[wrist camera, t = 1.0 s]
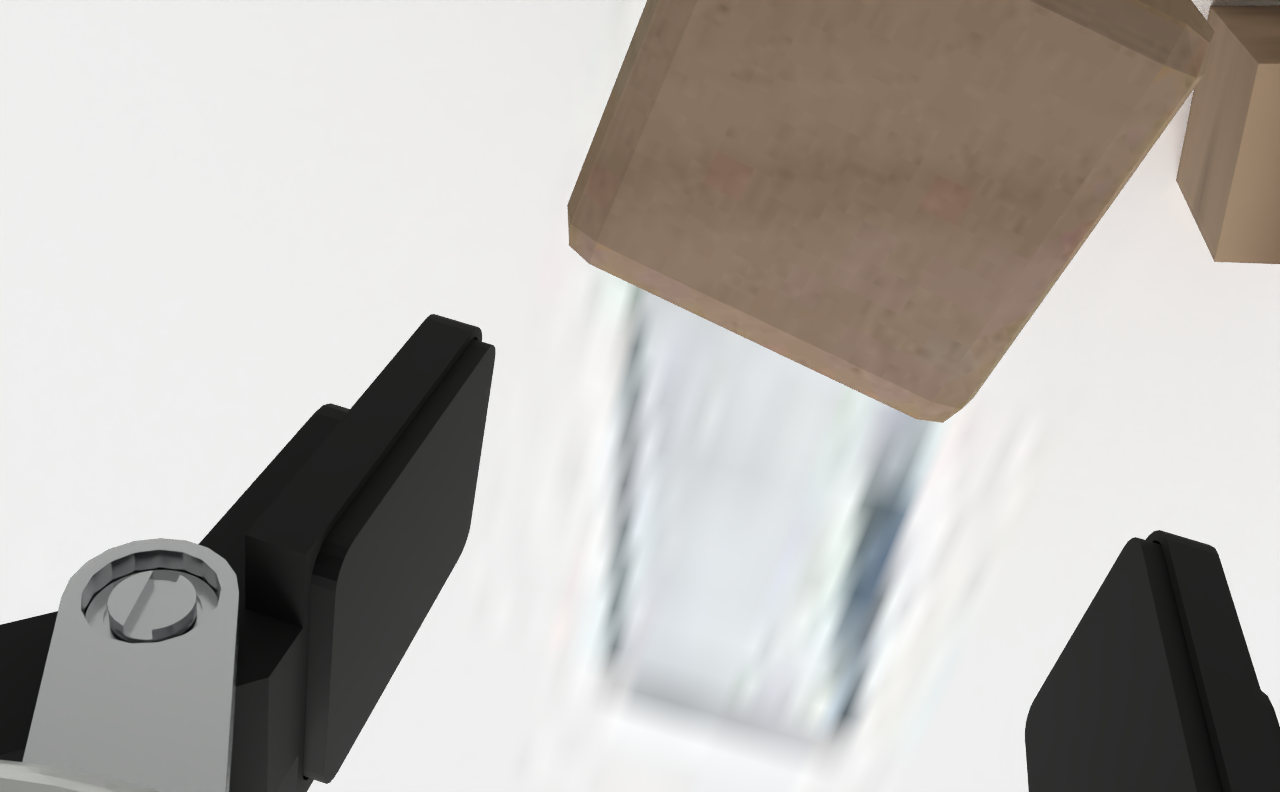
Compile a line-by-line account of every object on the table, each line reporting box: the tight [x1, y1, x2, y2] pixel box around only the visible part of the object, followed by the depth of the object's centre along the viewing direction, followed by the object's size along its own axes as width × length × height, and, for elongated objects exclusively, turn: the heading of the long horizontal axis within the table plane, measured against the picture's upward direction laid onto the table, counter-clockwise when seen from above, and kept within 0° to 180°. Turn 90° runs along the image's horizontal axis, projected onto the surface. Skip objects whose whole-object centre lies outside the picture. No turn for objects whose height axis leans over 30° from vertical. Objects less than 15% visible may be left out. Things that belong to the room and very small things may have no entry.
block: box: [568, 0, 1215, 423], centre depth 30 cm, size 10×10×20 cm
